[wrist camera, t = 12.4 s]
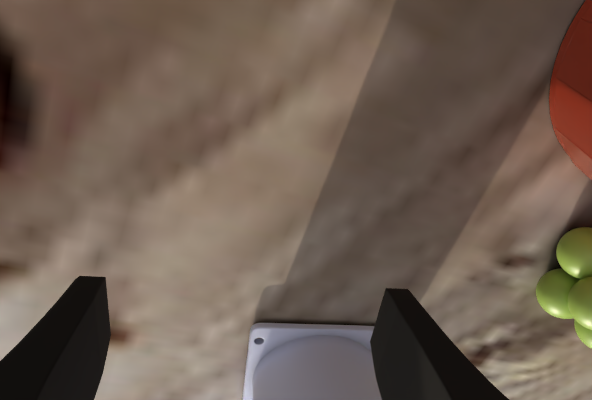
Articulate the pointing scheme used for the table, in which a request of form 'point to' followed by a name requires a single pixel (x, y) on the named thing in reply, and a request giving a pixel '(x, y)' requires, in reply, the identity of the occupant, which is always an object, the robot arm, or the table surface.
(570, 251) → the grapes
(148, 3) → the table surface
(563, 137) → the pot
